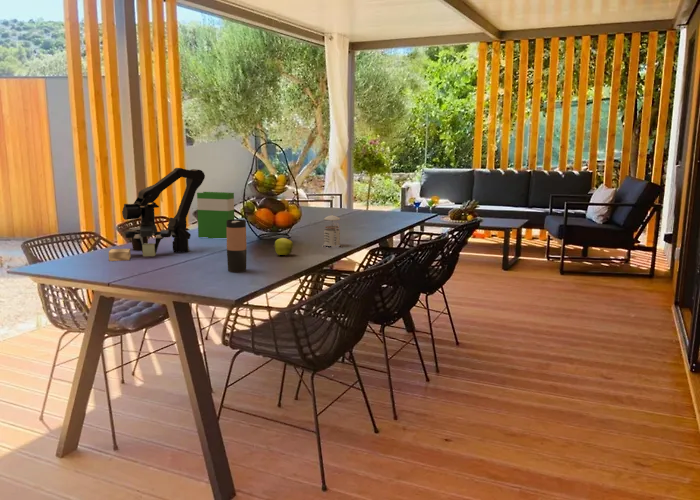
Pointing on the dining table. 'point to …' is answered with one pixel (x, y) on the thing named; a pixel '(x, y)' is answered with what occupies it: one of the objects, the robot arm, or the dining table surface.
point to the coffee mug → (134, 242)
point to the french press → (332, 231)
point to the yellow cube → (148, 249)
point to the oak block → (119, 254)
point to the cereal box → (214, 213)
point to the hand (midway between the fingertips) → (149, 252)
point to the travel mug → (236, 245)
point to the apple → (283, 246)
